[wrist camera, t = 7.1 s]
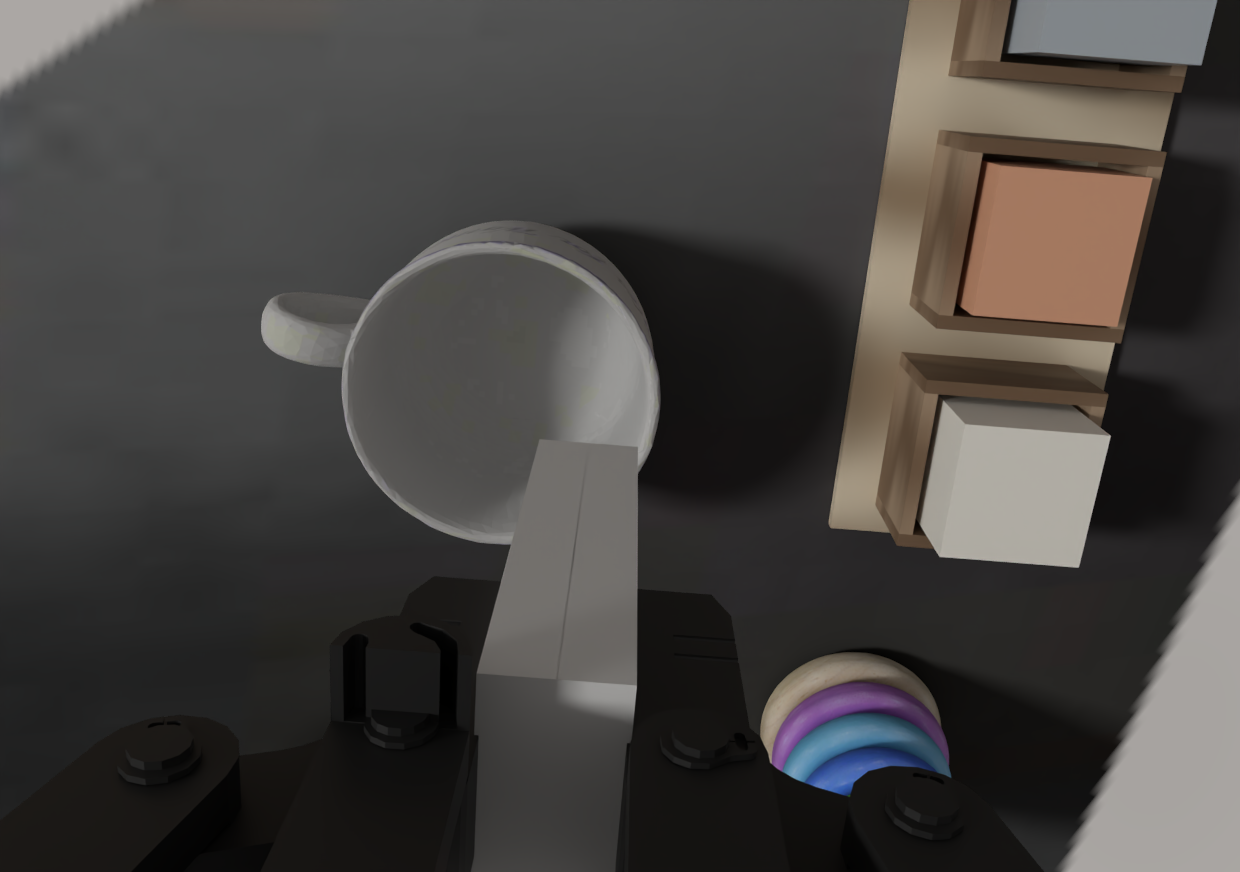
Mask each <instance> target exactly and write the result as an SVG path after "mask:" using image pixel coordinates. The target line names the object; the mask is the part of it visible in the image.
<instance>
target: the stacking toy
mask: <svg viewBox="0 0 1240 872" xmlns="http://www.w3.org/2000/svg"><path fill="white" fill-rule="evenodd" d="M761 739H762V742H763V744H764V746H765V748H766V750H767V752H768V754H769V760H770V763H771V764H772V765H774V766H775V767H776V768H777V769H778V770H780V771H782V772H784V773H786V774H787V775H789V776H791V777H793V778H794V779H796V780H799V781H802V782H804V783H807V784H810V785H812V786H815V787H818V788H821V789H825V790H828V791H831V792H835V793H838V794H842V795H845V796H848V797H850V794H851V790H852V787H853V783H854V782H855V781H856V780H858V779H859V778H860V777H861V776H863V775H864V774H865V773H866V772H868V771H870V770H875V769H879V768H883V767H887V766H907V767H919V768H923V769H927V770H930V771H934V772H937V773H940V774H944V775H946V776H948V777H950V778H951V773H950V770H949V751H948V745H947V741H946V738H945V735H944V733H943V730H942V728H941V720H940V715H939V711H938V708H937V705H936V702H935V700H934V698H933V696H932V694H931V693H930V691H929V689H928V688H927V687H926V685H925V684H924V683H923V682H922V681H921V680H920V679H919V678H918V677H917V676H916V675H915V674H914V673H913V672H911V671H910V670H908V669H907V668H906V667H904V666H902V665H901V664H899V663H897V662H895V661H893V660H891V659H888V658H885V657H882V656H879V655H874V654H870V653H861V652H842V653H835V654H830V655H826V656H823V657H819V658H817V659H814V660H812V661H810V662H808V663H806V664H804V665H802V666H800V667H799V668H797V669H796V670H794V671H793V672H792V673H790V674H789V675H788V676H786V677H785V678H784V679H783V680H782V681H781V683H780V684H779V685H778V686H777V687H776V688H775V690H774V691H773V693H772V694H771V696H770V698H769V700H768V702H767V704H766V706H765V709H764V712H763V715H762V721H761Z"/></svg>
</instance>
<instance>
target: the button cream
mask: <svg viewBox="0 0 1240 872" xmlns="http://www.w3.org/2000/svg"><path fill="white" fill-rule="evenodd" d="M1110 437H1111V435H1109V434H1108V433H1107V432H1105V431H1104V430H1103V429H1102V428H1100V427H1099V426H1098V425H1096V424H1095V423H1094V422H1093V421H1091V420H1090V419H1089V418H1087V417H1086V416H1085V415H1084V414H1082V413H1081V412H1080V411H1078V410H1077V409H1076V408H1075V407H1073V406H1072V405H1068V404H1055V403H1042V402H1030V401H1017V400H1005V399H992V398H979V397H967V396H954V395H941V394H938V399H937V405H936V410H935V416H934V421H933V427H932V432H931V437H930V443H929V448H928V454H927V459H926V464H925V470H924V475H923V481H922V486H921V492H920V497H919V502H918V508H917V513H916V519H917V521H918V523H919V524H920V526H921V528H922V529H923V531H924V532H925V534H926V536H927V537H928V539H929V541H930V542H931V544H932V545H933V547H934V549H935V550H936V552H937V554H938V555H939V557H949V558H962V559H975V560H988V561H1000V562H1013V563H1026V564H1039V565H1052V566H1065V567H1078V568H1079V564H1080V560H1081V556H1082V552H1083V548H1084V544H1085V540H1086V536H1087V531H1088V527H1089V523H1090V519H1091V515H1092V511H1093V507H1094V503H1095V499H1096V495H1097V491H1098V486H1099V482H1100V478H1101V474H1102V470H1103V466H1104V462H1105V458H1106V454H1107V450H1108V446H1109V441H1110Z"/></svg>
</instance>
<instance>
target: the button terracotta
mask: <svg viewBox="0 0 1240 872" xmlns="http://www.w3.org/2000/svg"><path fill="white" fill-rule="evenodd" d="M1152 179H1153V178H1150V177H1146V176H1141V175H1136V174H1132V173H1127V172H1122V171H1118V170H1113V169H1108V168H1104V167H1094V166H1082V165H1069V164H1057V163H1045V162H1032V161H1020V160H1007V159H995V158H983V157H982V161H981V166H980V172H979V177H978V183H977V188H976V194H975V199H974V204H973V210H972V215H971V221H970V226H969V231H968V237H967V242H966V248H965V253H964V259H963V264H962V269H961V275H960V280H959V286H958V291H957V296H956V302H955V303H956V304H958V305H959V306H960V307H962V308H963V309H964V310H966V311H967V312H968V313H970V314H971V315H974V316H987V317H999V318H1012V319H1024V320H1037V321H1049V322H1062V323H1075V324H1087V325H1100V326H1112V327H1117V326H1118V322H1119V317H1120V313H1121V309H1122V305H1123V301H1124V296H1125V292H1126V288H1127V284H1128V280H1129V275H1130V271H1131V267H1132V263H1133V258H1134V254H1135V250H1136V246H1137V242H1138V237H1139V233H1140V229H1141V225H1142V221H1143V216H1144V212H1145V208H1146V204H1147V200H1148V195H1149V191H1150V187H1151V183H1152Z"/></svg>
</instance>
